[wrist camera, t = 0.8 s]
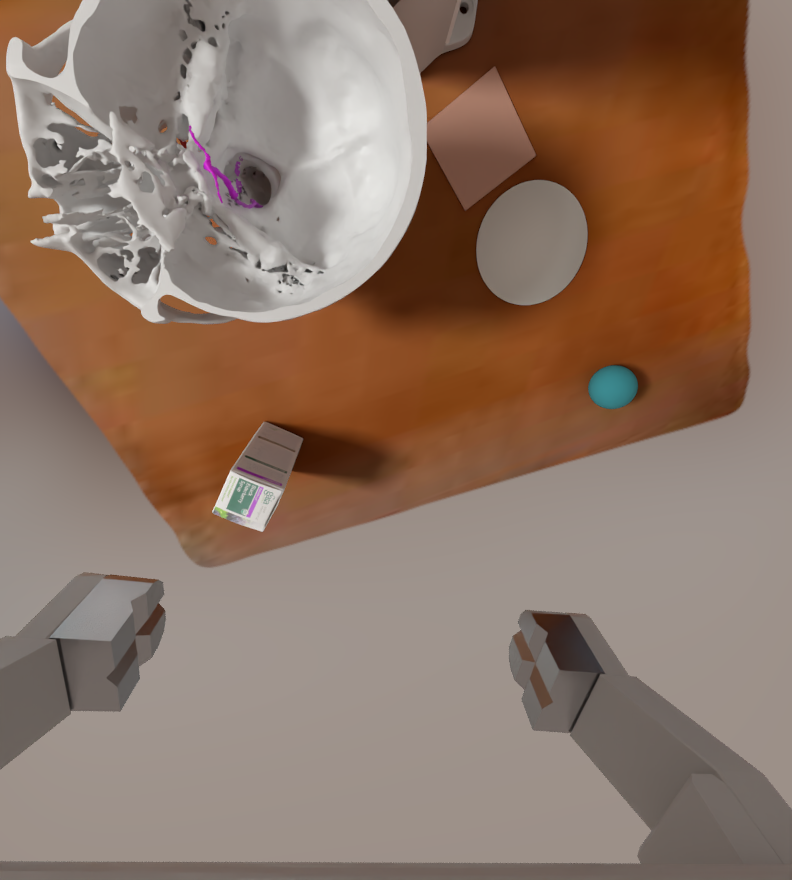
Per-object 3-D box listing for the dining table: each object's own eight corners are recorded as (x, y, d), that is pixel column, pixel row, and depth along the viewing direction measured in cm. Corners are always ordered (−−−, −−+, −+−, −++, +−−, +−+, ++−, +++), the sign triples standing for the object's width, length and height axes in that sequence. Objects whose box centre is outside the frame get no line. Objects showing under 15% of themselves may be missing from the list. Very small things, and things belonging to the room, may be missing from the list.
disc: (502, 161, 42) (503, 161, 42) (606, 204, 44) (607, 204, 44) (459, 285, 47) (460, 285, 46) (556, 319, 49) (556, 319, 49)
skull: (352, 60, 38) (329, -212, 17) (426, 255, 45) (475, 234, 24) (137, 181, 41) (-115, 74, 20) (238, 347, 48) (132, 401, 27)
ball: (592, 356, 51) (617, 364, 46) (628, 368, 52) (656, 378, 47) (573, 395, 53) (594, 407, 48) (608, 406, 54) (633, 419, 49)
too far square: (420, 129, 41) (420, 128, 40) (494, 67, 39) (494, 65, 39) (465, 211, 44) (465, 210, 43) (535, 156, 42) (536, 155, 42)
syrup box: (263, 419, 51) (226, 468, 38) (305, 437, 53) (284, 491, 39) (248, 454, 53) (207, 513, 40) (289, 472, 55) (263, 534, 41)
